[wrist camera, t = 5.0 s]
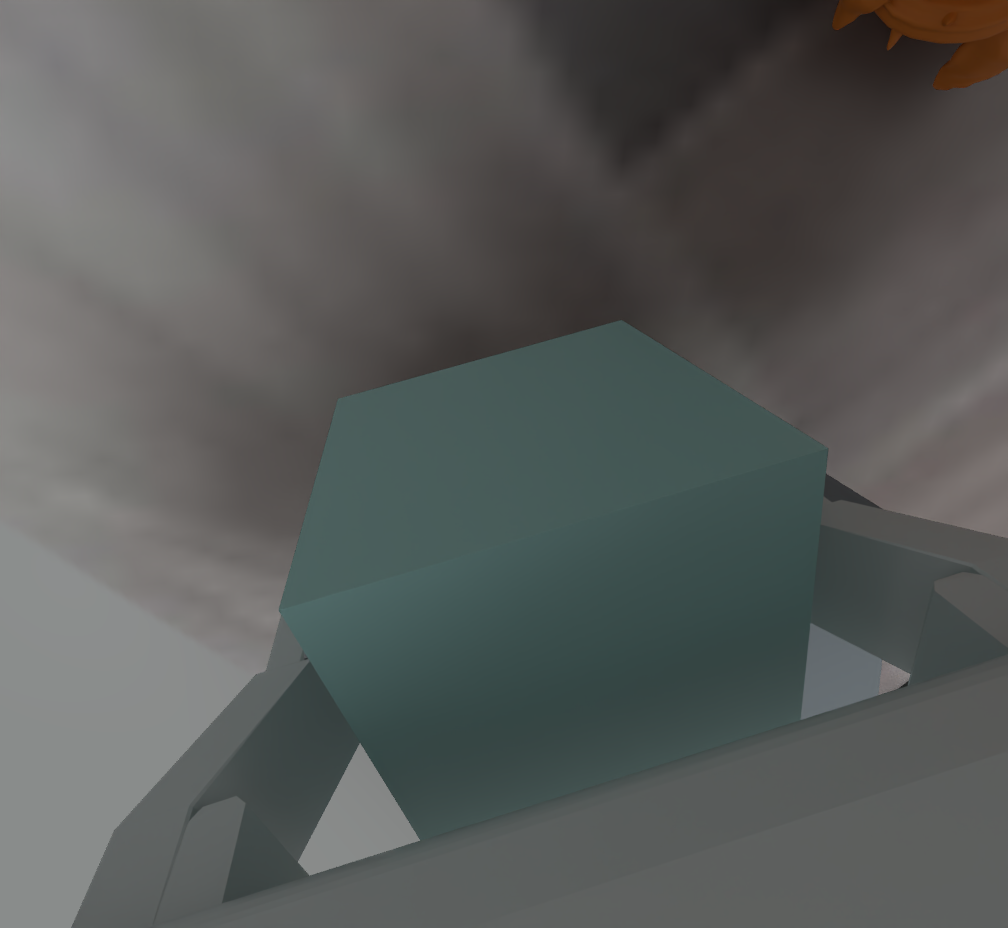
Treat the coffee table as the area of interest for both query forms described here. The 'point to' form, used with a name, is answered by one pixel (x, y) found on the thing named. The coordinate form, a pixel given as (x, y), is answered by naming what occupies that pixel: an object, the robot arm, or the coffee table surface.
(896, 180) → the coffee table surface
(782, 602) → the brick teal
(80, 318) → the coffee table surface
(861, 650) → the tower base
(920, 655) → the robot arm
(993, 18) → the orange figurine
